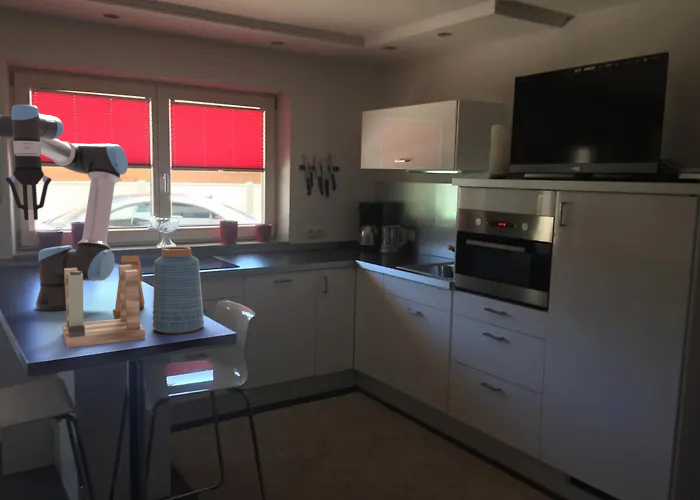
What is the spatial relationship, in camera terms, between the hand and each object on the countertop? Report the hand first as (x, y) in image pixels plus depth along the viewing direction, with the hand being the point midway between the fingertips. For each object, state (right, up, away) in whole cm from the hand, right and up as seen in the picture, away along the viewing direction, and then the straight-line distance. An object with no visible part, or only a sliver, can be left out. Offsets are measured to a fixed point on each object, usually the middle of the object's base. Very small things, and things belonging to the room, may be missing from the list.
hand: (31, 230), depth 193 cm
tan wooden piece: (+23, -30, +24) cm, 45 cm away
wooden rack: (+24, -33, -3) cm, 41 cm away
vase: (+45, -32, +7) cm, 56 cm away
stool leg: (+20, -29, -13) cm, 38 cm away
